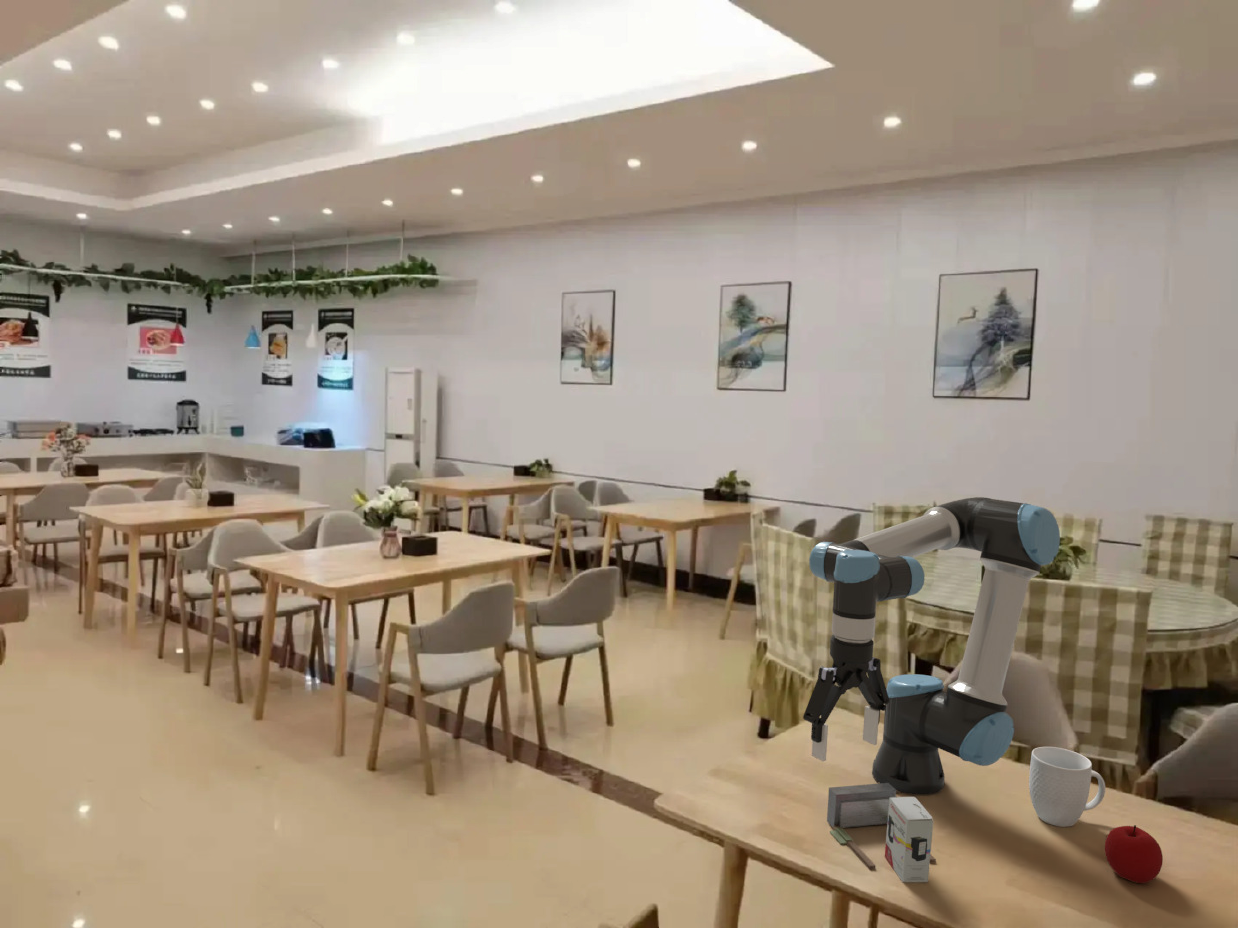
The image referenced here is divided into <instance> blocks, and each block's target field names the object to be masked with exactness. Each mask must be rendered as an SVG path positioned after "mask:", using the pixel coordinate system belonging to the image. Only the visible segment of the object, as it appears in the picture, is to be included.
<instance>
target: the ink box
mask: <svg viewBox="0 0 1238 928" xmlns="http://www.w3.org/2000/svg"><path fill="white" fill-rule="evenodd" d="M933 828H934V819H933V816H932V815H931V814H930V813H929V811H927V809H926V808H925V806H923V804H922V803H921V802H920V801H919V800H918V799H917V798H916V796H896V797H890V799H889V812H888V823H887V824H886V837H885V848H884V858H885V859H886V861H887V862H888V863H889V865H890V866H891V868H892V869H893V870H894V872H895V873H896V875H897V876H898V877H899V878H898V879H900V880H901V881H900V882H902V883H928V882H929V874H930V864H931V863H930V854H931V851H932V841H933V830H934V829H933Z"/></svg>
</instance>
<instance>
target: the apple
mask: <svg viewBox="0 0 1238 928" xmlns="http://www.w3.org/2000/svg"><path fill="white" fill-rule="evenodd" d="M1104 854H1105V858H1106V860H1107V862H1108V865H1109V866H1110V867H1111V869H1112V870H1113V871H1114V872H1115V873H1116V874H1117V875H1118V876H1119V877H1121V878H1123V879H1126V880H1128V881H1131V882H1133V883H1135V882H1136V884H1146V883H1149V882H1152V881H1153V880H1155V879H1156V878H1157V876H1158V875H1159V873H1160V872H1161V869H1162V867H1163V861H1164V860H1163V856H1164V855H1163V852H1162V849H1161V846H1160V844H1159V843H1158V842H1157V840H1156V839H1155V838H1154V836H1153V835H1151V834H1150V833H1148V832H1147V831H1146V830H1144V829H1142V828H1139V827H1137V825H1122V826H1117V827H1114V828H1112V829H1110V831H1109V832H1108V834H1107V836H1106V839H1105V841H1104Z"/></svg>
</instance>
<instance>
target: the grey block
mask: <svg viewBox="0 0 1238 928" xmlns="http://www.w3.org/2000/svg"><path fill="white" fill-rule="evenodd" d="M890 797H897V791H896V789H895V788H894V787H892V786H891V785H890V784H889V783H869V784H867V783H866V784H857V785H856V784H855V785H845V786H832V787H828V798H827V799H828V800H827V814H826V822H827V823H828V825H830V826H831V828H833V826H840V827H842V828H843V829H846V828H847V829H848V828H859V827H870V826H881V825H887V823H888V812H889V799H890Z"/></svg>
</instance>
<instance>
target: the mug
mask: <svg viewBox="0 0 1238 928" xmlns="http://www.w3.org/2000/svg"><path fill="white" fill-rule="evenodd" d="M1029 763H1030V764H1029V765H1030V766H1029V777H1028V783H1029V785H1028V787H1029V788H1028V789H1029V796H1030V800H1031V805H1032V807H1033V809H1034V811H1035V814H1036V815H1037V816H1038V818H1040V820H1041V821H1043V822H1045V823H1046V824H1049V825H1052V826H1054V827H1061V828H1067V827H1072V826H1074V825H1075V824H1076V823H1077V822H1078V821H1079V819H1080V818H1081V816H1082V815H1083V813H1084V811H1085V812H1086V811H1090V810H1093V809H1095V808H1096V807H1098V806H1099V805H1100V804H1101V803H1102V801H1103V800H1104V798H1105V794H1106V782H1105V780H1104V778H1103V777H1102V775H1101V774H1100V773H1098V772H1097V771H1095V770H1093V769H1092V768H1093V767H1092V766H1093V764H1092V761H1091V760H1090V759H1089V758H1087V757H1086V756H1084V755H1082V754H1081V753H1079V752H1075V751H1073V750H1070V749H1066V748H1062V747H1056V746H1040V747H1036V748H1033V750H1032V751H1031V757H1030V762H1029ZM1093 777H1095V778H1096V779H1097V781H1098V789H1097V793H1096V795H1095V797H1094V798H1093V799H1092V800H1090V801H1089V802H1088V799H1089V794H1090V790H1091V789H1090V788H1091V781H1092V778H1093Z"/></svg>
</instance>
